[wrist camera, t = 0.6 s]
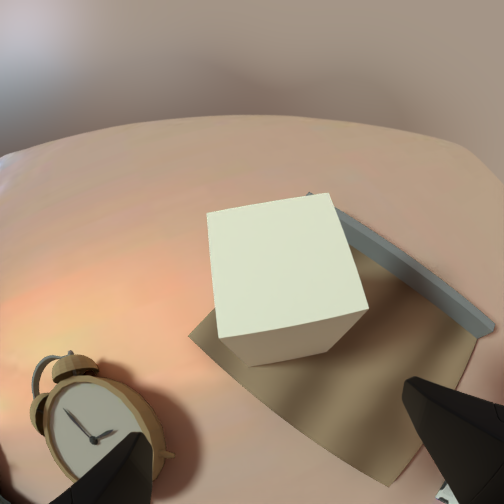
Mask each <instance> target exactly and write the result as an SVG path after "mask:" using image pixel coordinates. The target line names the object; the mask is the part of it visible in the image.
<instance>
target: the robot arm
mask: <svg viewBox="0 0 504 504" xmlns="http://www.w3.org/2000/svg"><path fill="white" fill-rule="evenodd" d="M402 402H403V404H404V406H405V408H406V410H407V413H408V415H409V417H410V419H411V421H412V423H413V426H414V428H415V430H416V432H417V434H418V436H419V437H420V439H421V441H422V442H423V444H424V445H425V447H426V449H427V450H428V452H429V454H430V455H431V457H432V459H433V460H434V462H435V464H436V465H437V467H438V469H439V470H440V472H441V474H442V475H443V477H444V479H445V480H446V482H447V484H448V486H449V487H450V489H451V491H452V493H453V494H454V496H455V498H456V500H457V501H458V503H459V504H504V406H503V405H499V404H496V403H495V404H494V403H493V402H489V401H486V400H483V399H480V398H477V397H474V396H471V395H468V394H465V393H462V392H459V391H456V390H453V389H450V388H447V387H445V386H442V385H439V384H436V383H433V382H431V381H428V380H425V379H423V378H420V377H417V376H413V377H411V378H408V379H406V380H405V381H404V385H403V391H402ZM152 474H153V448H152V446H151V444H150V443H149V441H148V439H147V438H146V436H145V435H144V433H142V432H130V433H129V434H128V435H127V436H126V437H125V438H124V439H123V440H122V441H120V442H119V443H118V444H117V445H116V446H115V447H114V448H113V449H112V450H111V451H110V452H109V453H108V454H106V455H105V456H104V457H103V458H102V459H101V460H100V461H99V462H98V463H97V464H95V465H94V466H93V467H92V468H91V469H90V470H89V471H88V472H87V473H85V474H84V475H83V476H82V477H81V478H80V479H79V480H77V481H76V482H75V483H74V484H73V485H72V486H71V488H70V487H69V488H68V489H67V490H66V491H65V492H63V493H62V494H61V495H60V496H58V497H57V498H56V499H55V500H53V501H52V502H50V503H49V504H150V500H151V493H152Z"/></svg>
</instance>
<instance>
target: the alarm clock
mask: <svg viewBox="0 0 504 504" xmlns="http://www.w3.org/2000/svg"><path fill="white" fill-rule="evenodd" d="M56 359H60V360H58V361H57V362H56V363H55V365H54V366H53V370H52V378H53V382H55V383H57V385H56V386H55V387H54V389H53V390H52V391H51V392H50V393H42V394H40V393H39V381H40V377H41V374H42V372H43V370H44V368H45V367H46V366H47V364H49V363H50V362H51V361H53V360H56ZM87 370H93V371H94V372H95V374H96V375H97V374H98V373H99V369H98V367H97V365H96V364H95V362H94V361H93V360H92V359H90V358H88V357H86V356H84V355H74V353H73V352H72V351H71V350H70V351H69V352H68V355H66V356H62V357H60V356H54V355H51V356H47V357H45V358H43V359H42V360H41V361H40V362H39V363H38V365H37V366H36V368H35V371H34V373H33V377H32V393H33V399H34V400H33V402H32V404H31V407H30V419H31V422H32V424H33V426H34V427H35V429H36V430H37V431H38V432H39V433H40V434H41V435H43V436H44V437H45V439H46V443H47V445H48V448H49V450H50V452H51V454H52V457H53V459H54V461H55V462H56V463H57V465H58V466H59V467H60V469H61V470H62V471H63V473H64V474H65V475H66V476H67V477H68V478H69V479H70V480H71V481H72V482H74V483H75V482H76V481H77V480H79V479H80V478H81V477H82V476H83V475H84V474H85V473H87V472H88V471H89V470H90V469H91V468H92V467H93V466H94V465H95V464H97V463H98V462H99V461H100V460H101V459H102V458H103V457H104V456H105V455H106V454H108V453H109V452H110V451H111V450H112V449H113V448H114V447H115V446H116V445H117V444H118V443H119V442H120V441H122V440H123V439H124V438H125V437H126V436H127V435H128V434H129V433H130V432H142V433H144V435H145V436H146V438H147V439H148V441H149V443H150V444H151V446H152V448H153V474H152V482H153V481H154V480H155V479H157V477H158V475H159V473H160V471H161V469H162V468H163V466H164V461H165V458H175V454H174V453H171V452H168V451H166V444H165V439H164V434H163V428H162V426H161V424H160V422H159V420H158V418H157V416H156V414H155V412H154V410H153V409H152V408H151V406H150V405H149V404H148V403H147V402H146V401H145V400H144V399H143V398H142V396H141V395H140V394H139V393H137V392H136V391H134V390H133V389H131V388H130V387H128V386H127V385H125V384H124V383H121V382H118V381H115V380H112V379H109V378H98V377H93V376H83V374H84V372H85V371H87Z"/></svg>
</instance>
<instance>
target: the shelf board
mask: <svg viewBox="0 0 504 504" xmlns="http://www.w3.org/2000/svg"><path fill="white" fill-rule="evenodd" d="M348 245H349V248H350V251H351V254H352V256H353V259H354V262H355V265H356V268H357V271H358V274H359V277H360V281H361V284H362V287H363V290H364V293H365V297H366V300H367V303H368V307H369V309H368V310H367V311H366V312H365V314H364V315H363V316H362V317H361V318H360V319H359V320H358V321H357V322H356V323H355V324H354V325H353V326H352V327H351V328H350V329H349V330H348V331H347V332H346V333H345V334H344V335H343V336H342V337H341V338H340V339H339V340H338V341H337V342H336V343H335V344H334V345H333V346H332V347H331V348H330V349H329V350H328V351H327V352H324V353H319V354H315V355H310V356H306V357H301V358H296V359H291V360H286V361H280V362H275V363H269V364H263V365H257V366H251V367H248V366H247V365H246V364H245V363H244V362H243V361H242V360H241V359H240V358H239V357H237V356H236V355H235V354H234V353H233V352H232V351H231V350H230V349H229V348H228V347H227V346H226V345H225V344H224V343H223V342H222V341H221V340H220V339H219V337H218V329H217V320H216V311H215V308H214V309H213V310H212V311H211V312H210V313H209V314H208V316H207V317H206V318H205V319H204V320H203V321H202V322H201V323H200V324H199V325H198V326H197V327H196V328H195V329H194V330H193V331H192V332H191V333H190V334H189V335H188V337H189V338H190V339H191V340H192V341H194V342H195V343H196V344H197V345H198V346H199V347H200V348H201V349H202V350H203V351H204V352H205V353H206V354H207V355H208V356H209V357H210V358H211V359H213V360H214V361H215V362H216V363H217V364H218V365H219V366H220V367H221V368H222V369H224V370H225V371H226V372H227V373H228V374H229V375H230V376H231V377H233V378H234V379H235V380H236V381H237V382H238V383H240V384H241V385H242V386H243V387H244V388H245V389H247V390H248V391H249V392H250V393H251V394H253V395H254V396H255V397H256V398H257V399H259V400H260V401H261V402H262V403H264V404H265V405H266V406H267V407H269V408H270V409H271V410H272V411H274V412H275V413H276V414H278V415H279V416H280V417H281V418H283V419H284V420H285V421H287V422H288V423H289V424H291V425H292V426H293V427H295V428H296V429H297V430H299V431H300V432H302V433H303V434H304V435H306V436H307V437H309V438H310V439H311V440H313V441H314V442H316V443H317V444H319V445H320V446H322V447H323V448H324V449H326V450H327V451H329V452H330V453H332V454H334V455H335V456H337V457H338V458H340V459H341V460H343V461H344V462H346V463H348V464H349V465H351V466H352V467H354V468H356V469H357V470H359V471H361V472H362V473H364V474H366V475H368V476H369V477H371V478H373V479H375V480H376V481H378V482H380V483H382V484H384V485H385V486H387V487H389V486H390V485H391V484H392V483H393V482H394V480H395V479H396V478H397V477H398V476H399V474H400V473H401V472H402V471H403V469H404V468H405V467H406V466H407V464H408V463H409V462H410V460H411V459H412V458H413V456H414V455H415V454H416V452H417V451H418V449H419V448H420V446H421V445H422V444H423V442H422V441H421V439H420V437H419V436H418V434H417V432H416V430H415V428H414V426H413V423H412V421H411V419H410V417H409V415H408V413H407V410H406V408H405V406H404V404H403V402H402V391H403V385H404V381H405V380H406V379H408V378H411V377H413V376H417V377H420V378H423V379H425V380H428V381H431V382H433V383H436V384H439V385H442V386H445V387H447V388H450V389H453V390H455V388H456V386H457V384H458V382H459V380H460V378H461V376H462V374H463V372H464V369H465V367H466V365H467V363H468V360H469V358H470V356H471V353H472V351H473V348H474V346H475V343H476V341H477V338H475V337H474V336H473V335H472V334H471V333H469V332H468V331H467V330H466V329H465V328H463V327H462V326H461V325H460V324H458V323H457V322H456V321H455V320H453V319H452V318H451V317H449V316H448V315H447V314H446V313H444V312H443V311H442V310H440V309H439V308H438V307H437V306H435V305H434V304H433V303H431V302H430V301H429V300H427V299H426V298H425V297H423V296H422V295H421V294H419V293H418V292H417V291H415V290H414V289H413V288H411V287H410V286H409V285H407V284H406V283H404V282H403V281H402V280H400V279H399V278H397V277H396V276H395V275H393V274H392V273H390V272H389V271H388V270H386V269H385V268H383V267H382V266H380V265H379V264H378V263H376V262H375V261H373V260H372V259H370V258H369V257H367V256H366V255H365V254H363V253H362V252H360V251H359V250H357V249H356V248H354V247H353V246H351V245H350V244H348Z"/></svg>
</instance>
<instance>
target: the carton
mask: <svg viewBox="0 0 504 504" xmlns="http://www.w3.org/2000/svg"><path fill="white" fill-rule="evenodd" d="M207 224H208V237H209V249H210V261H211V272H212V282H213V292H214V302H215V311H216V320H217V329H218V337H219V339H220V340H221V341H222V342H223V343H224V344H225V345H226V346H227V347H228V348H229V349H230V350H231V351H232V352H233V353H234V354H235V355H236V356H237V357H239V358H240V359H241V360H242V361H243V362H244V363H245V364H246V365H247V366H248V367H251V366H257V365H263V364H269V363H275V362H280V361H286V360H291V359H296V358H301V357H306V356H310V355H315V354H319V353H324V352H327V351H328V350H329V349H330V348H331V347H332V346H333V345H334V344H335V343H336V342H337V341H338V340H339V339H340V338H341V337H342V336H343V335H344V334H345V333H346V332H347V331H348V330H349V329H350V328H351V327H352V326H353V325H354V324H355V323H356V322H357V321H358V320H359V319H360V318H361V317H362V316H363V315H364V314H365V312H366V311H367V310H368V309H369V307H368V303H367V300H366V297H365V293H364V290H363V287H362V284H361V281H360V277H359V274H358V271H357V268H356V265H355V262H354V259H353V256H352V254H351V251H350V248H349V245H348V242H347V239H346V237H345V234H344V231H343V229H342V226H341V223H340V221H339V218H338V215H337V213H336V210H335V208H334V205H333V203H332V200H331V198H330V195H329V193H323V194H316V195H309V196H302V197H296V198H289V199H283V200H277V201H271V202H265V203H259V204H253V205H248V206H242V207H236V208H231V209H226V210H220V211H215V212H210V213H207Z"/></svg>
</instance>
